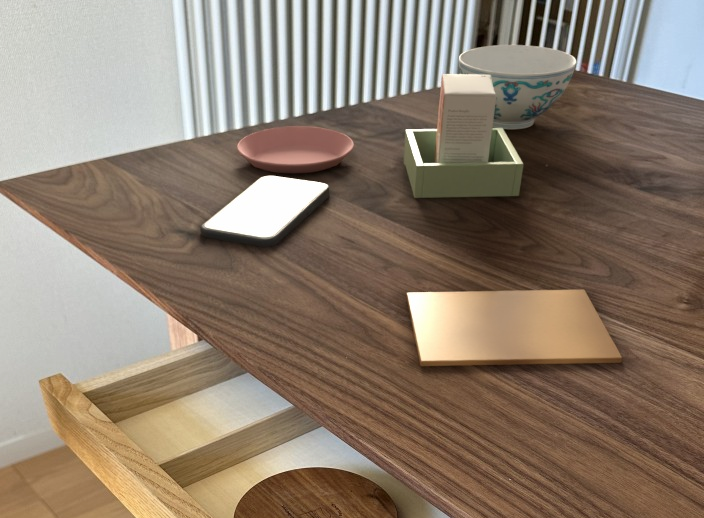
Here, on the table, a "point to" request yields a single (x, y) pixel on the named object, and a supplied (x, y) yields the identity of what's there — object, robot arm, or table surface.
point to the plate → (295, 149)
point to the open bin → (461, 168)
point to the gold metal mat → (509, 328)
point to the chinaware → (520, 79)
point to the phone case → (266, 211)
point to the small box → (465, 118)
